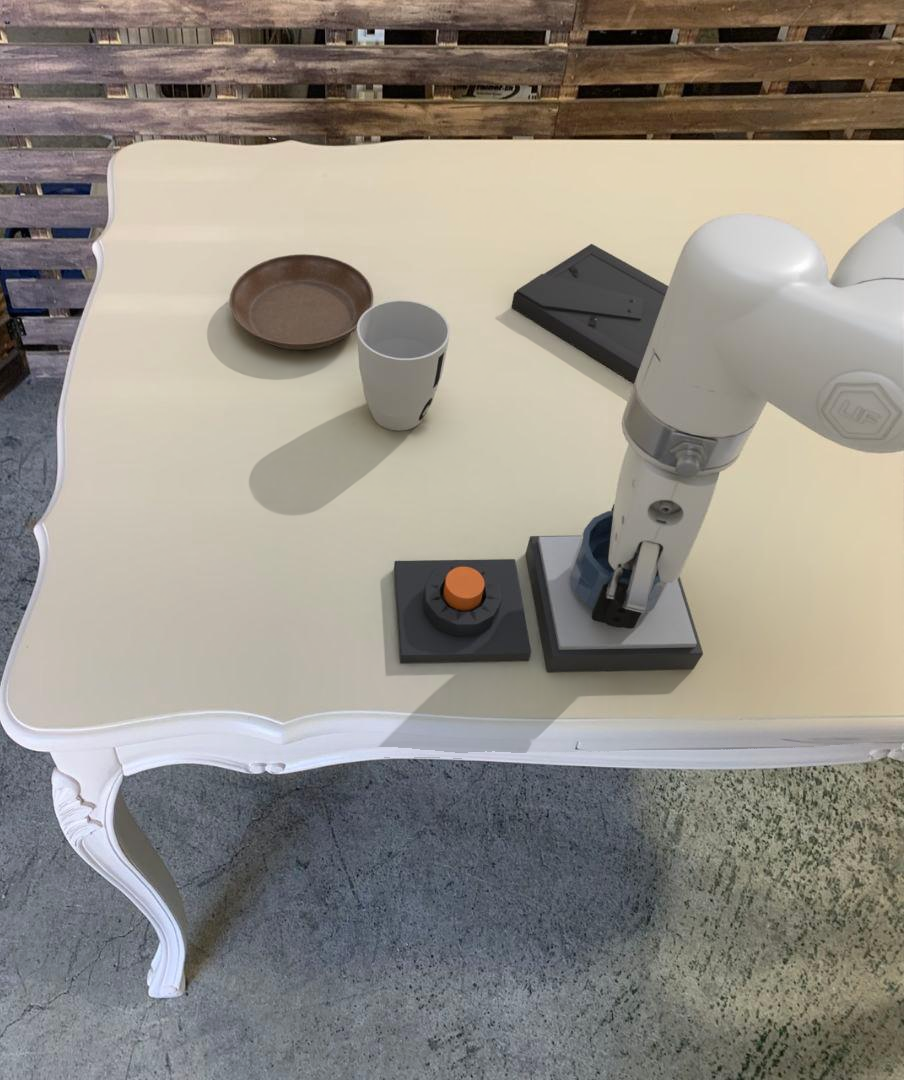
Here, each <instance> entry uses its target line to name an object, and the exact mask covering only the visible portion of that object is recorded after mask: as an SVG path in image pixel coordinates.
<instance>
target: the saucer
mask: <svg viewBox="0 0 904 1080" xmlns="http://www.w3.org/2000/svg"><path fill="white" fill-rule="evenodd" d="M373 306H374V291H373V288H372V285H371V284H370V282H369V280H368V279H367V278H366V277H365V275H364V274H363V273H362V272H361V271H360V270H359V269H357V268H355V267H354V266H352V265H350V264H349V263H347V262H344V261H342V260H339V259H337V258H333V257H330V256H325V255H319V254H307V253H306V254H305V253H304V254H303V253H301V254H299V253H297V254H289V255H283V256H277V257H273V258H270V259H268V260H264V261H262V262H260V263H258V264H256V265H254V266H252V267H251V268H249V269H248V270H246V271H245V272H244V273H242V274H241V275H240V276H239V277H238V279H237V280H236V282H235V283H234V284H233V287H232V288H231V290H230V294H229V308H230V311H231V314H232V316H233V317H234V319H235V320H236V321H237V323H238V324H239V325H240V326H241V327H242V328H243V329H245V331H247V332H248V333H249V334H250V335H252V336H253V337H255V338H257V339H258V340H260V341H262V342H264V343H267V344H269V345H271V346H275V347H279V348H281V349H288V350H313V349H319V348H323V347H326V346H329V345H332V344H334V343H336V342H339V341H341V340H342V339H344V338H346V337H347V336H349V335H350V334H352V333H353V332H354V331H355V330H357V324H358V321H359V319H360V317H361V316H362V315H363V313H364V312H365V311H367V310H368V309H369V308H371V307H373Z"/></svg>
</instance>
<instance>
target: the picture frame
mask: <svg viewBox="0 0 904 1080" xmlns="http://www.w3.org/2000/svg"><path fill="white" fill-rule="evenodd" d="M668 286H669V285H667V284H665V283H664V282H661V281H660V280H658V279H656V278H654V277H653V276H651V275H649V274H648V273H646V272H644V271H642V270H640V269H638V268H636V267H635V266H633V265H631V264H629V263H628V262H626V261H623V260H622V259H621V258H618V257H617V256H615V255H613V254H612V253H609V252H607V251H606V250H604V249H602V248H601V247H599V246H597V245H595V244H593V243H590V244H588V245H586V247H584V248H582V249H581V250H579V251H578V252H576V253H575V254H573V255H571V256H569V257H568V258H567V259H565V260H563V261H561V262H560V263H559V264H557V265H555V266H554V267H553V268H551V269H550V270H548V271H546V272H545V273H541V274H539V275H537V276H536V277H535V278H533V279H532V280H530V281H529V282H527V283H526V284H524V285H522V286H521V287H519V288H518V289H517V290H516V291H515V292H513V296H512V303H511V306H510V307H511V309H513V310H514V311H516V312H518V313H520V314H521V315H523V316H524V317H526V318H528V319H530V320H531V321H533V322H534V323H536V324H538V325H539V326H541V327H542V328H544V329H545V330H547V331H549V332H551V333H552V334H554V335H555V336H557V337H559V338H560V339H562V340H564V341H565V342H567V343H568V344H570V345H571V346H573V347H575V348H576V349H578V350H580V351H581V352H583V353H584V354H586V355H588V356H589V357H591V358H592V359H594V360H596V361H598V362H599V363H601V364H602V365H604V366H606V367H607V368H608V369H610V370H612V371H613V372H615V373H617V374H618V375H620V376H622V377H623V378H625V379H627V380H628V381H630V382H632V383H633V384H634V382H635V380H636V377H637V374H638V371H639V368H640V366H641V363H642V360H643V357H644V355H645V352H646V349H647V346H648V344H649V341H650V338H651V335H652V332H653V329H654V326H655V323H656V321H657V318H658V315H659V312H660V309H661V306H662V304H663V301H664V298H665V295H666V292H667V289H668Z"/></svg>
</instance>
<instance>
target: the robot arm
mask: <svg viewBox="0 0 904 1080" xmlns="http://www.w3.org/2000/svg"><path fill="white" fill-rule="evenodd" d="M667 286H668V289H667V292H666V295H665V298H664V301H663V304H662V306H661V309H660V312H659V315H658V318H657V321H656V323H655V326H654V329H653V332H652V335H651V338H650V341H649V344H648V346H647V349H646V352H645V355H644V357H643V360H642V363H641V366H640V368H639V371H638V374H637V377H636V380H635V382H634V383H633V385H632V387H631V391H630V394H629V396H628V399H627V403H626V405H625V408H624V411H623V414H622V418H621V429H622V434H623V436H624V438H625V441H626V442H627V444H628V445H627V447H626V450H625V452H624V457H623V459H622V463H621V467H620V471H619V475H618V480H617V486H616V490H615V491H616V492H615V498H614V503H613V505H612V507H611V510H610V511H613V520H612V529H611V538H610V547H609V563H610V565H611V567H612V568H613V571H612V574H611V577H610V581H609V584H604V585H603V587H602V590H601V592H600V594H599V597H598V599H597V602H596V604H595V606H594V609H593V611H592V619H593V620H594V621H598V622H602V623H606V624H607V625H609V626H613V627H618V628H622V627H624V628H628V629H632V628H634V627H635V625H636V623H637V621H638V619H639V617H640V615H641V613H644V611H645V608H646V605H647V601H648V598H649V595H650V592H651V589H652V586H653V583H654V579H655V576H656V573H657V570H658V573H659V578H660V581H664V582H669V583H672V582H674V581H676V580H677V579H678V578H679V576H681V574H682V573H683V572H682V571H684V567H685V565H686V563H687V561H688V558H689V556H690V554H691V552H692V550H693V547H694V545H695V542H696V541H697V539H698V536H699V533H700V531H701V528H702V526H703V524H704V521H705V520H706V516H707V514H708V511H709V508H710V505H711V503H712V499H713V497H714V494H715V491H716V487H717V484H718V480H719V476H720V472H723V471H725V470H727V469H728V468H731V466H732V465H734V464H735V463H736V462H737V460H738V459H739V458H740V456H741V453H742V452H743V450H744V447H745V446H746V443H748V442H747V441H748V440H749V438H750V436H751V434H752V433H753V430H754V428H755V427H756V425H757V423H758V421H759V418H760V416H761V415H762V413H763V412H764V409H765V407H766V405H767V403H769V404H770V405H772V406H773V407H775V408H776V409H777V410H779V411H781V412H782V413H784V414H786V416H789V417H790V418H792V419H793V420H795V421H796V422H798V423H800V425H802V426H804V427H806V428H807V429H809V430H810V431H812V432H814V433H816V434H817V435H818V436H821V437H822V438H823V439H826V440H827V441H828V440H829V441H831V442H833V443H834V444H837V445H839V446H841V447H844V448H847V449H851V450H855V451H857V452H862V453H866V454H867V453H869V454H894V453H895V454H896V453H900V452H904V207H903V208H900V209H899V210H897V211H896V212H894V213H892V214H891V215H889V216H888V217H886V218H885V219H883V220H882V221H881V222H879V223H877V224H876V225H875V226H874V227H872V228H870V230H869V231H867V232H866V233H865V234H864V235H862V236H861V237H860V238H859V239H858V240H857V241H856V242H855V243H854V244H853V245H852V246H851V247H850V248H849V249H848V250H847V251H846V252H845V254H844V256H842V258H841V259H840V261H839V262H838V263H837V266H836V268H835V269H834V271H833V273H832V275H831V277H830V279H829V267H828V262H827V260H826V256H825V254H824V252H823V249H822V248H821V247H820V246H819V244H818V243H817V242H815V240H814V239H813V238H812V237H811V236H810V235H809V234H807V233H806V232H805V231H804V230H802V229H800V228H799V227H797V226H795V225H793V224H791V223H789V222H787V221H784V220H781V219H778V218H775V217H771V216H767V215H761V214H756V213H733V214H728V215H724V216H719V217H716V218H713V219H711V220H709V221H707V222H705V223H704V224H702V225H701V226H699V227H698V228H697V229H696V230H694V232H693V233H692V234H691V235H690V236H689V237H688V239H687V241H686V242H685V243H684V245H683V247H682V249H681V251H680V254H679V256H678V259H677V261H676V264H675V267H674V270H673V272H672V275H671V278H670V281H669V283H668V285H667ZM635 552H637V553H636V557H635V558H633V557H634V555H635ZM623 570H627V571H631V572H632V574H631V578H630V583H629V585H627V584H623V583H619V582H620V579H621V575H622V572H623Z"/></svg>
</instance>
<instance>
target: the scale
mask: <svg viewBox="0 0 904 1080" xmlns="http://www.w3.org/2000/svg"><path fill="white" fill-rule="evenodd" d="M581 537H582V535H530V536H529V539H528V543H527V547H526V550H525V554H524V555H525V558H526V564H527V570H528V576H529V581H530V586H531V591H532V592H531V593H532V597H533V603H534V608H535V615H536V619H537V626H538V631H539V636H540V643H541V647H542V651H543V658H544V663H545V670H546V673H571V672H572V673H573V672H574V673H575V672H577V673H580V672H618V671H619V672H623V671H624V672H627V671H629V672H631V671H675V670H676V671H677V670H678V671H680V670H681V671H682V670H694V669H695V668H696V666H697V665H698V663H699V662H700V660H701V658H702V657H703V655H704V651H703V648H702V645H701V642H700V638H699V636H698V632H697V628H696V625H695V623H694V619H693V616H692V613H691V609H690V605H689V603H688V598H687V596H686V592H685V589H684V586H683V583H682V580H681V577H680V576H681V575H680V576H679V578H678V579H677V580H676V581H674V582H672V583H668V585H667V587H666V589H665V591H664V593H663V595H662V597H661V598H660V600H659V601H658V603H657V604H656V606H655V607H654V609H652V610H651V611H649V612H648V613H646V614H644V615H642V616H640V617H639V619H638V621H637V623H636V625H635V627H634V628H632V629H628V628H624V627H622V628H618V627H613V626H609V625H607V624H606V623H602V622H598V621H594V620H593V619H592V611H593V609H592V608H590V607H588V606H587V605H585V603H584V602H583V601H582V600H581V599H580V598H579V596H578V595H577V594H576V593H575V591H574V588H573V585H572V582H571V579H570V573H571V567H572V562H573V560H574V557H575V554H576V551H577V548H578V545H579V543H580V540H581Z"/></svg>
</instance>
